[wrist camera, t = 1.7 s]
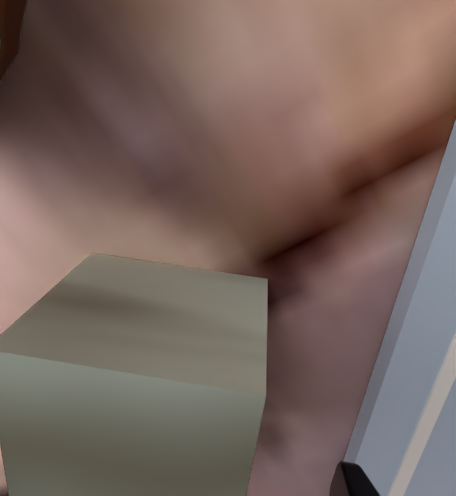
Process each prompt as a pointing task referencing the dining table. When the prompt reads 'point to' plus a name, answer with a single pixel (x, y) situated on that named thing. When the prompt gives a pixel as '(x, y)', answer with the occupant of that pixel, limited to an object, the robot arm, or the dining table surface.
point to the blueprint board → (417, 364)
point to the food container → (10, 31)
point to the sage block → (135, 382)
